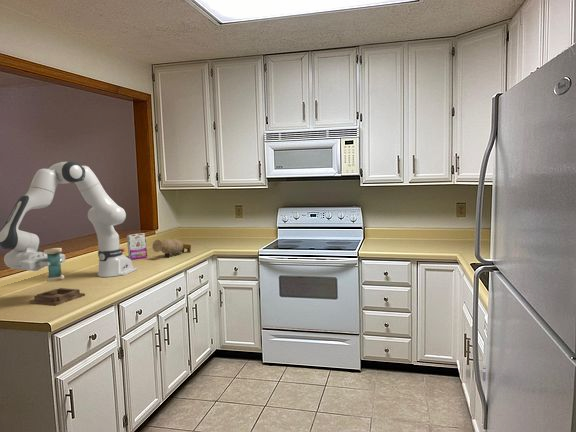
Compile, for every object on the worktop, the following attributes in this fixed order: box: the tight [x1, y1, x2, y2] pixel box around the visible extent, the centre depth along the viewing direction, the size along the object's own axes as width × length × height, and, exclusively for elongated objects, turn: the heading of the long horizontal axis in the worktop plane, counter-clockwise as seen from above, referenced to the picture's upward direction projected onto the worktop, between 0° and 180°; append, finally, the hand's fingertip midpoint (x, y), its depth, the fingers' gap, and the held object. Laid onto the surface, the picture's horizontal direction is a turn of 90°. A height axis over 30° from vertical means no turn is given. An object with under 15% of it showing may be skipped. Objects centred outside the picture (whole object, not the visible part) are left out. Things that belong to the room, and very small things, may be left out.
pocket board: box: [29, 287, 85, 306], centre depth 206 cm, size 16×16×3 cm
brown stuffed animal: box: [152, 238, 192, 258], centre depth 304 cm, size 10×12×30 cm
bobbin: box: [43, 247, 65, 283], centre depth 204 cm, size 7×7×14 cm
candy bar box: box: [126, 232, 148, 261], centre depth 300 cm, size 11×5×16 cm, turn 126°
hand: (55, 262), depth 204 cm, fingers closed on bobbin, 5 cm apart
